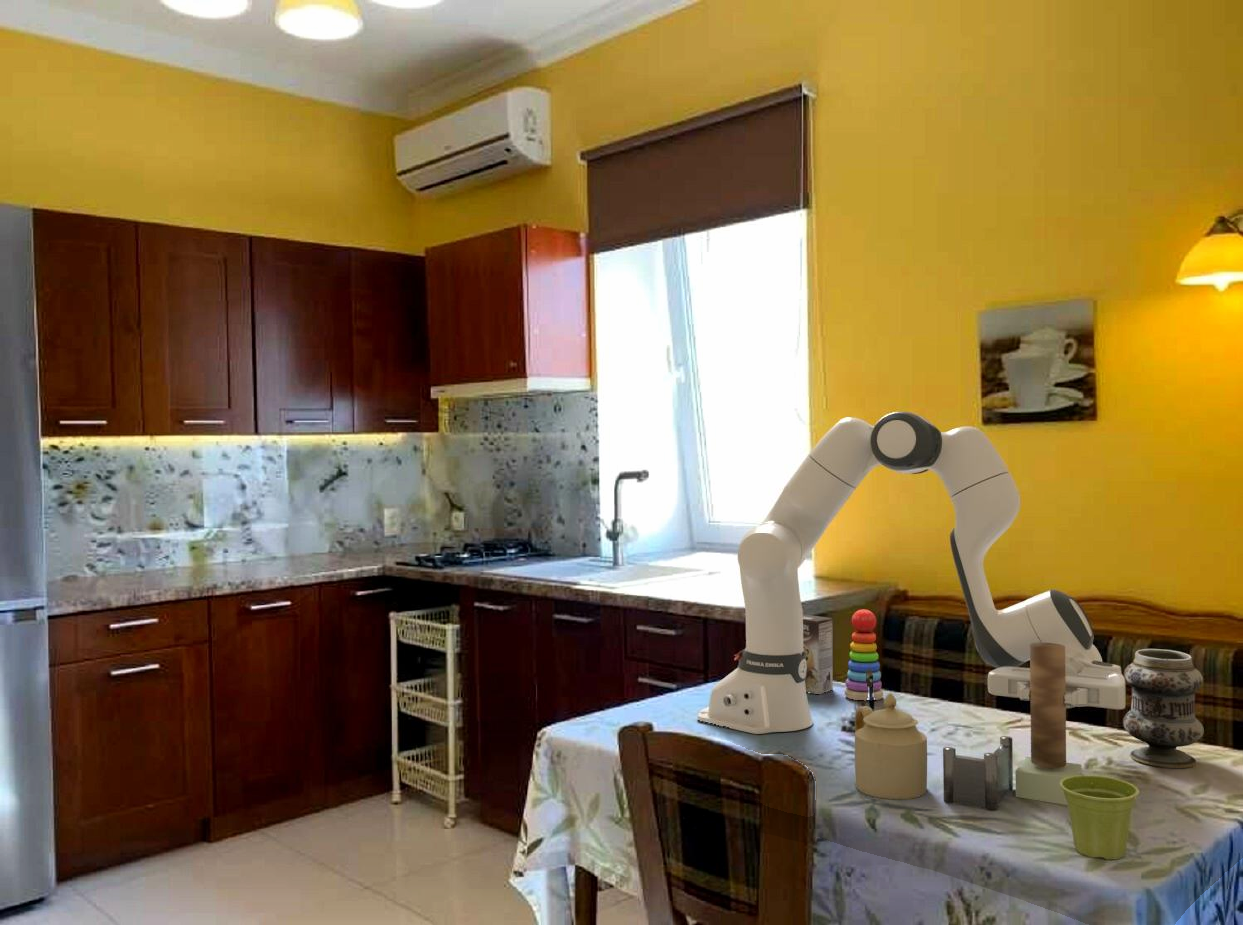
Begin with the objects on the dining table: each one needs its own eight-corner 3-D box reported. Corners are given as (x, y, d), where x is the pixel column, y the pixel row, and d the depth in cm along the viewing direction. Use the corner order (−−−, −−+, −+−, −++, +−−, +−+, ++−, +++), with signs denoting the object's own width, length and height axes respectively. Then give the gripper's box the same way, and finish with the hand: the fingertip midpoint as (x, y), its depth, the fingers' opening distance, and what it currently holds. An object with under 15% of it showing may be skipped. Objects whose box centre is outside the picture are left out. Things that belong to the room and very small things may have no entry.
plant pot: (1103, 871, 129) (1102, 802, 129) (1045, 845, 138) (1044, 781, 138) (1156, 858, 133) (1155, 791, 133) (1096, 833, 142) (1095, 770, 142)
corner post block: (942, 802, 155) (941, 749, 155) (963, 779, 165) (962, 730, 165) (995, 811, 151) (995, 757, 150) (1014, 788, 160) (1013, 737, 160)
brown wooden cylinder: (1027, 764, 157) (1026, 647, 157) (1034, 755, 161) (1033, 641, 161) (1062, 769, 154) (1061, 650, 154) (1068, 760, 158) (1067, 644, 158)
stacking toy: (884, 703, 214) (883, 613, 213) (844, 701, 215) (843, 612, 215) (882, 693, 221) (881, 607, 221) (844, 692, 223) (843, 606, 223)
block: (1015, 796, 157) (1015, 770, 156) (1027, 781, 163) (1026, 756, 163) (1072, 806, 152) (1072, 779, 152) (1081, 790, 159) (1081, 764, 159)
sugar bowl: (821, 782, 165) (819, 689, 165) (861, 767, 172) (860, 677, 172) (901, 805, 154) (900, 705, 154) (941, 788, 161) (940, 692, 161)
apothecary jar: (1204, 775, 165) (1203, 663, 165) (1121, 764, 171) (1120, 657, 171) (1203, 754, 175) (1203, 649, 175) (1125, 745, 181) (1124, 644, 181)
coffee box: (782, 689, 227) (781, 616, 227) (799, 684, 232) (798, 612, 231) (818, 695, 221) (817, 620, 221) (834, 690, 226) (833, 616, 225)
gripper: (997, 654, 174) (976, 669, 162) (1131, 666, 163) (1119, 684, 151) (998, 691, 174) (977, 709, 162) (1131, 706, 163) (1119, 727, 151)
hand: (1046, 697), depth 157 cm, fingers open, 5 cm apart
